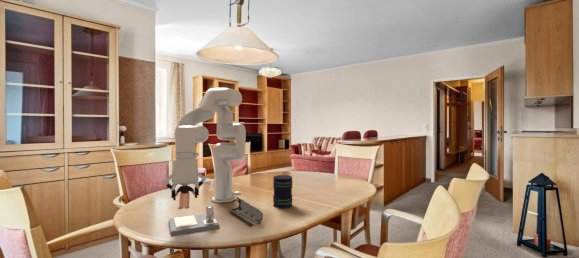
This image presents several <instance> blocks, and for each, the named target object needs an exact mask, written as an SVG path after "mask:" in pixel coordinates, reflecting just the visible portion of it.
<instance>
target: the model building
mask: <svg viewBox="0 0 579 258" xmlns="http://www.w3.org/2000/svg"><path fill="white" fill-rule="evenodd" d="M235 199H237V200H238V201H237V203H238V206H237V207H236V208H230V207H227V209H228V210H229V211H230V212H232V213H234V214H235V215H237V217H239V218H241V219H242V220H244V221H246V222H247V223H248V224H250V225H252V226H253V223H251V222H250V221H249V220H252V221H253V222H255V223H256V224H259V225H260V223H261V222H262V221H263V217H264V216H263V213H262V211H260V209H259V208H256V207H255V206H253V205H251V204H250V203H248V202H247V201H246V200H244V199H241V198H239V196H235ZM244 217H245V218H247V220H246V219H245V218H244Z"/></svg>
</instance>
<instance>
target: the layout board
mask: <svg viewBox="0 0 579 258" xmlns="http://www.w3.org/2000/svg"><path fill="white" fill-rule="evenodd" d="M168 224H169V225H168V226H169V232H170V236H176V235H177V234H178V235H183V234H189V233H197V232H202V231H208V230H214V229H219V228H220V223H219V221H218V220H217V218H216V217H215V216H214V222H211V223H207V222H206V213H202V214H194V215H187V216H186V215H185V216H180V217H178V216H177V217H170V218H168ZM196 231H197V232H196ZM178 235H177V236H178Z"/></svg>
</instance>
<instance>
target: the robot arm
mask: <svg viewBox="0 0 579 258" xmlns="http://www.w3.org/2000/svg"><path fill="white" fill-rule="evenodd" d="M204 92H205V93H204V95H203V96H202V98H201V100H200V102H199V104H198V105H197V106H196V108H194V109H192V110H190V111H189V112H187V113H186V114H185V115H184V116H182V117H180V118H181V119H179V121H178V123H177V126H176V127H175V130H174V138H175V139H174V140H175V159H173V161H172V166H171V167H172V169H171V174H170V175H169V176H167V177H166V178H165V179H163V183H164V185H166V187H167V188H168V189H169V190H170V191H171V199H172V200H173V201H176V198H177V196H176V192H177V190H176V187H177V186H178V185H182V184H188V185H189V184H194V192H195V194H194V198H195V199H198V197H199V195H200V194H199V193H200V191H199V189H200V187H201V186H203V184H204V182H205V181H206V180H207V177H206V176H204V175H203V174H201V173H200V172H199V167H198V160H197V158H196V157H199V152H196V144H199V143H200V144H202V143H205V142H206V141H207V140H208V139H209V136H210V134H209V132H210V131H209V130H208V128H207V127H205V126H203V125H197V124H199V123H203V122H206V121H209V120H211V119H213V118H214V117H215V114H216V116H217V118H216V137H217V139H219V140H221V141H235V142H218V143H215V144H214V146H213V147H212V157H213V161H214V163H213V164H214V196H213V197H212V198H211V201H212V202H213V203H217V204H221V203H223V204H224V203H225V204H226V203H229V202H231V203H232V202H234V201H235V200H236V197H237V196H241V195H242V192H241V191H234V190H233V166H232V164H231V162H230V161H241V160H244V158H245V155H246V141H247V140H246V137H247V135H246V134H247V133H246V127H245V125H244V124H243V123H239V122H233V121H234V120H233V119H234V114H233V112H232V110H231V109H230V107H238V106H240V105H242V104H241V103H242V102H243V95H242V94H241V92H240V91H239V90H238V89H233V88H228V87H216V88H215V87H214V88H213V87H211V88H209V89H207V90H206V91H204ZM199 178H200V179H201V180H200V181H199ZM170 180H171V182H172V184H171V183H170V182H169V181H170Z"/></svg>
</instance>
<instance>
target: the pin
mask: <svg viewBox="0 0 579 258" xmlns="http://www.w3.org/2000/svg"><path fill="white" fill-rule="evenodd" d="M214 208H215V207H214V206H213V205H208V206H205V214H206V222H207V223H211V222H214V217H215V216H214V214H215V213H214V212H215V211H214V210H215V209H214Z"/></svg>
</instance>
